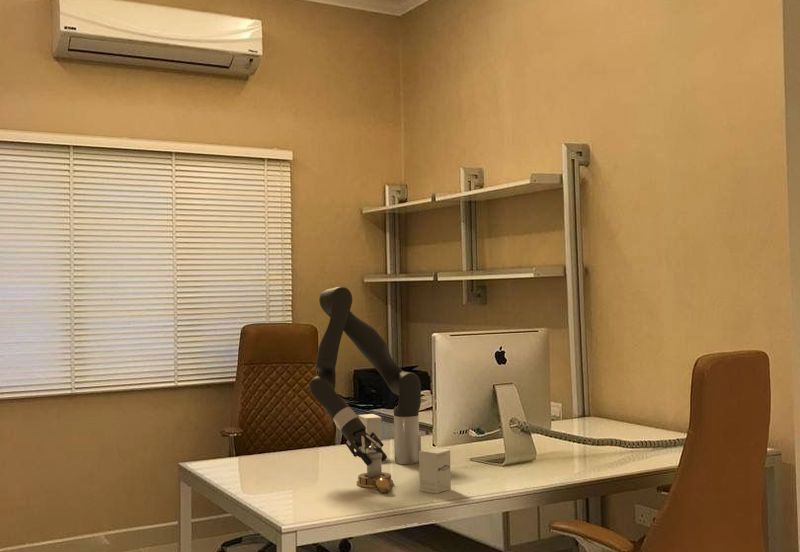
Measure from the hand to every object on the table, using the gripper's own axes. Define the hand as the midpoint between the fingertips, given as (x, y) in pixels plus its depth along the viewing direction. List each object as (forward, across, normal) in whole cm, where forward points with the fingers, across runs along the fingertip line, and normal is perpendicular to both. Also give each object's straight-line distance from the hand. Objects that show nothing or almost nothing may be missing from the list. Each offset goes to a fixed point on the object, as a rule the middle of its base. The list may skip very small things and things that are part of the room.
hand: (377, 461), depth 276 cm
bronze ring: (+7, -3, +4) cm, 8 cm away
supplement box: (+20, +3, -9) cm, 22 cm away
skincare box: (-16, +37, +27) cm, 49 cm away
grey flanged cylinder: (+4, 0, +6) cm, 7 cm away
